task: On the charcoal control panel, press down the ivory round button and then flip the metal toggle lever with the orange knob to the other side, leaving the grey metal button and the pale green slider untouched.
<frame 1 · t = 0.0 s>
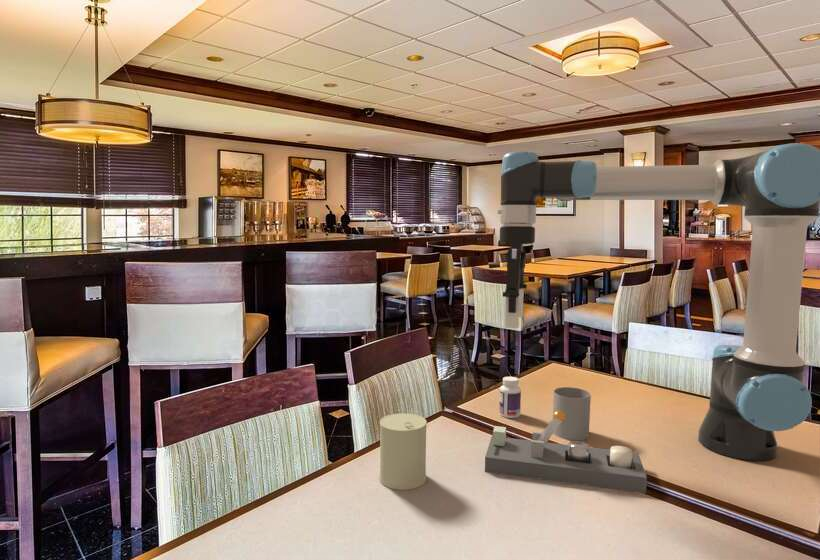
hand: (514, 322, 117), 28 cm above the table, fingers open, 13 cm apart
panel: (562, 469, 108), on the table
can: (402, 479, 103), on the table
grey button: (578, 453, 106), point 4 cm above the table, slide at 0.0 cm
pill bottle: (509, 415, 138), on the table
cup: (570, 434, 126), on the table
ivory button: (620, 458, 104), point 4 cm above the table, slide at 0.0 cm
slider: (499, 435, 113), point 5 cm above the table, slide at -2.0 cm
lever: (549, 429, 108), point 8 cm above the table, hinge at -30.0°
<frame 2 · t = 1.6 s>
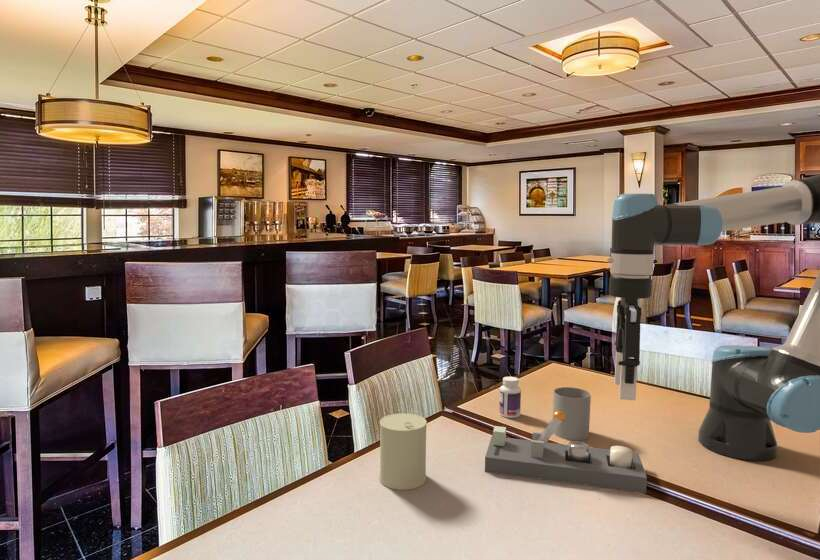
hand: (624, 391, 103), 17 cm above the table, fingers open, 9 cm apart
nothing on the table moved.
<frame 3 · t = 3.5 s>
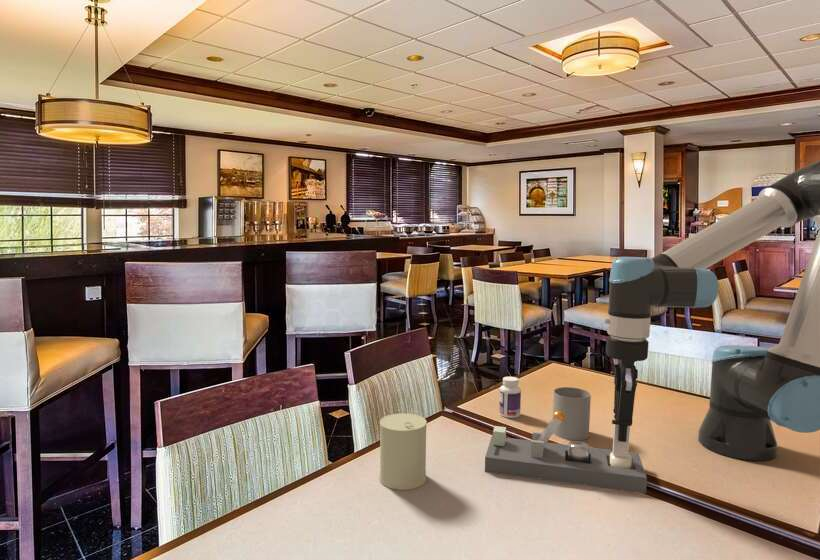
hand: (620, 454, 104), 5 cm above the table, fingers closed
ivory button: (620, 464, 104), point 3 cm above the table, slide at -1.2 cm, touching gripper
everything else where it was.
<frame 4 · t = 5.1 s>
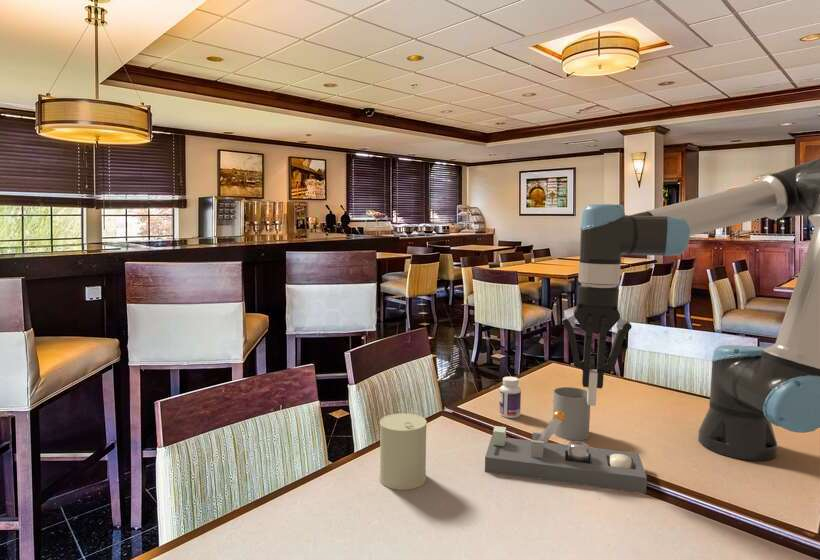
hand: (591, 403, 105), 14 cm above the table, fingers closed
ivory button: (620, 466, 104), point 2 cm above the table, slide at -1.7 cm
everything else where it was.
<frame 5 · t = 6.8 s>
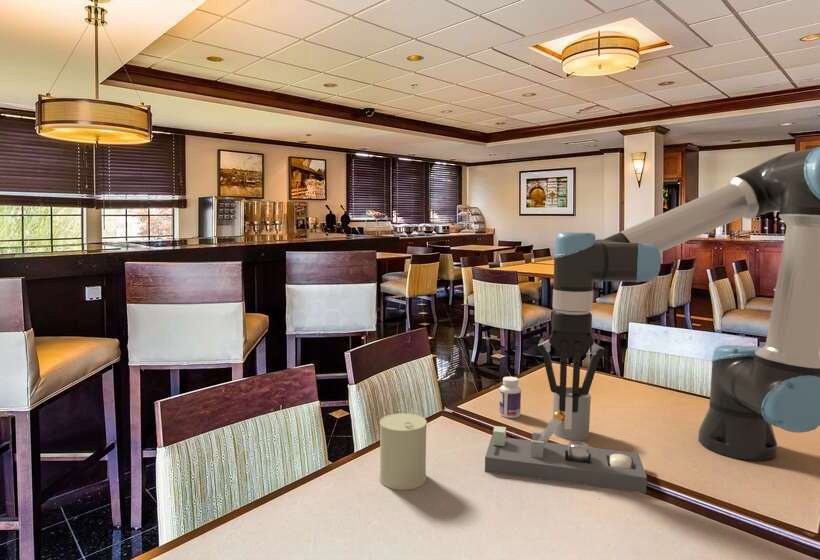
hand: (567, 426, 106), 9 cm above the table, fingers closed
lever: (549, 429, 108), point 8 cm above the table, hinge at -29.9°, touching gripper
everything else where it was.
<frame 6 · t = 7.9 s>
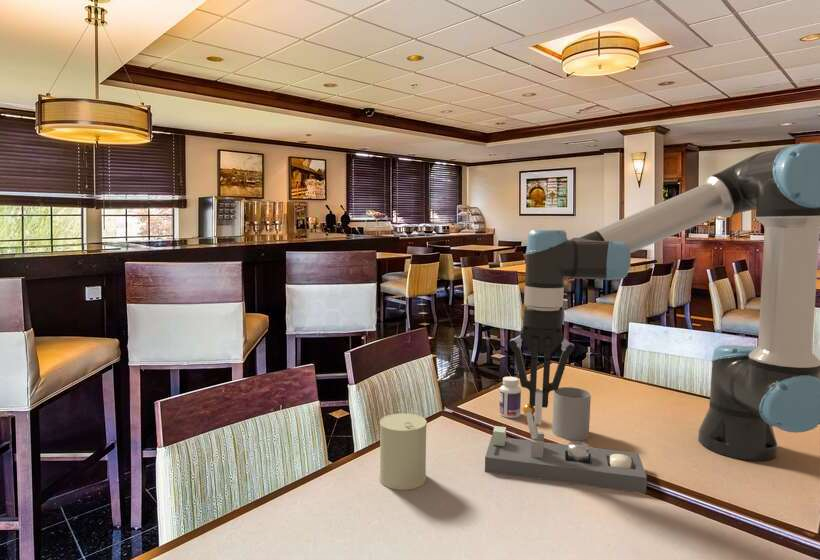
hand: (537, 421, 108), 10 cm above the table, fingers closed
lever: (532, 425, 108), point 8 cm above the table, hinge at 14.6°, touching gripper
everything else where it was.
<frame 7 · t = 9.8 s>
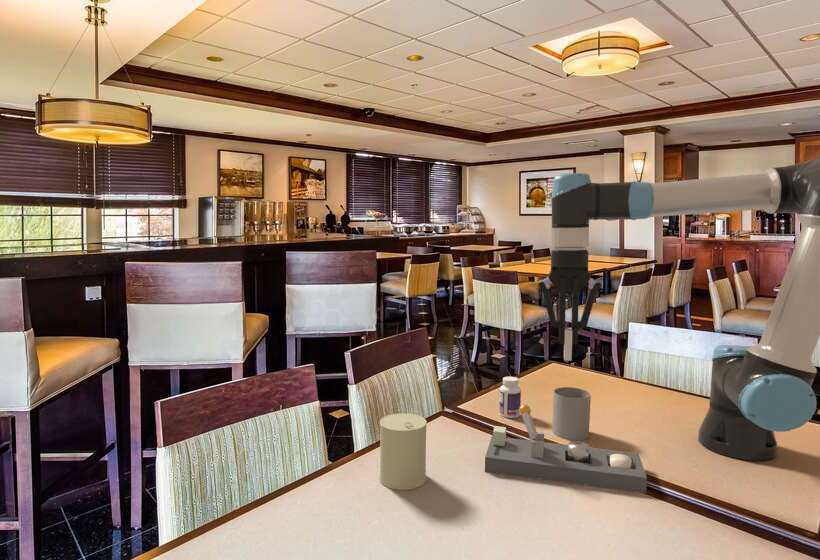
hand: (567, 358, 113), 21 cm above the table, fingers closed
lever: (530, 426, 109), point 8 cm above the table, hinge at 20.6°
everything else where it was.
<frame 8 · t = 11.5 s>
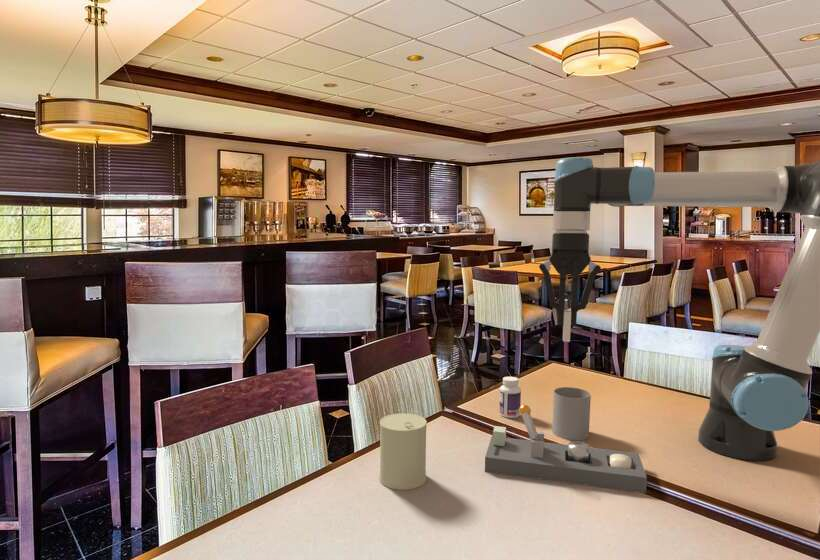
hand: (566, 340, 116), 24 cm above the table, fingers closed
nothing on the table moved.
at the end: ivory button slide at -1.7 cm; lever at +21° (first picture: -30°); grey button slide at 0.0 cm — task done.
